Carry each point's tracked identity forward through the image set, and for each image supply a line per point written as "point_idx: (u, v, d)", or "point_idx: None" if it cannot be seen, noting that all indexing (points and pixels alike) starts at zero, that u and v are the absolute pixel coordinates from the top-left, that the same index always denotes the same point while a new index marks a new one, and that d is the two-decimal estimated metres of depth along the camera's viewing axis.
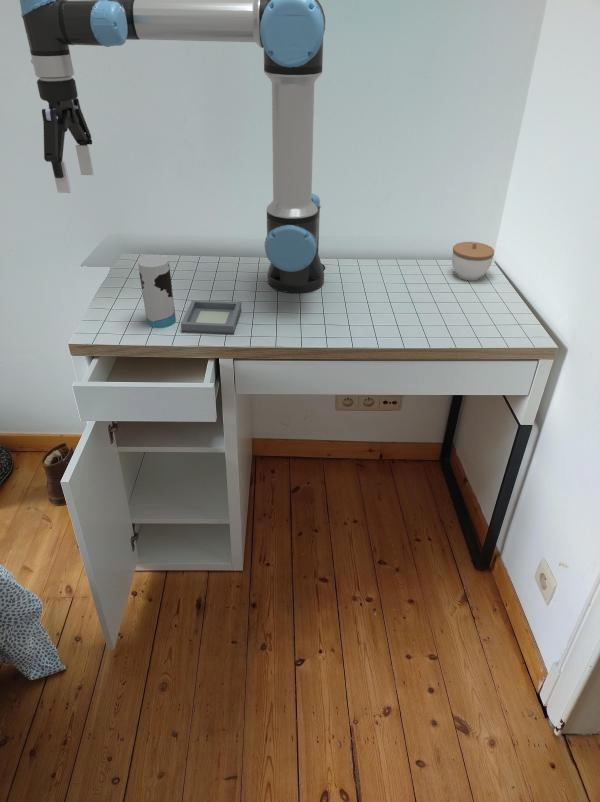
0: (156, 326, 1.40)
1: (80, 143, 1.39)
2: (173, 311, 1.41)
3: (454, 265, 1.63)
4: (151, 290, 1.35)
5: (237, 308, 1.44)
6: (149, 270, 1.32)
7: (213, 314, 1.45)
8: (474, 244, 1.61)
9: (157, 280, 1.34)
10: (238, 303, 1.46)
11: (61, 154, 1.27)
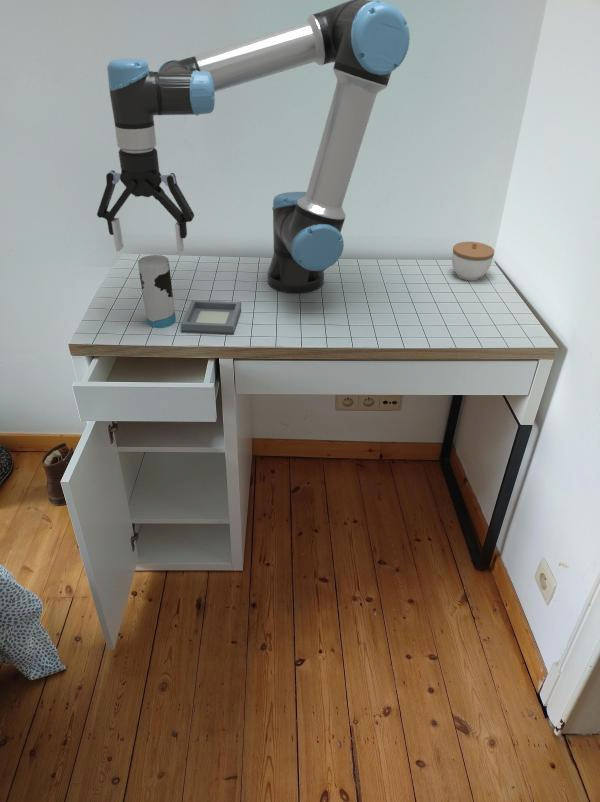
0: (156, 326, 1.40)
1: None
2: (173, 311, 1.41)
3: (454, 265, 1.63)
4: (151, 290, 1.35)
5: (237, 308, 1.44)
6: (149, 270, 1.32)
7: (213, 314, 1.45)
8: (474, 244, 1.61)
9: (157, 280, 1.34)
10: (238, 303, 1.46)
11: (111, 214, 1.28)
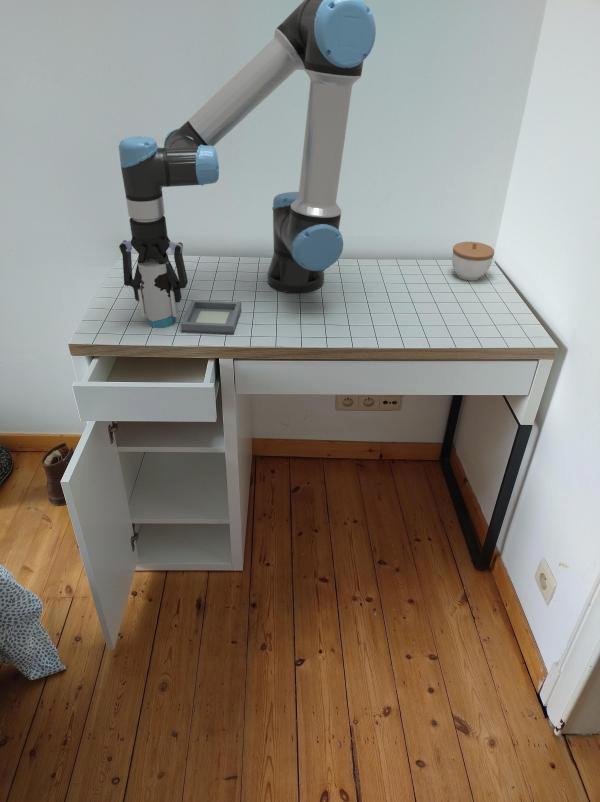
0: (156, 326, 1.40)
1: None
2: None
3: (454, 265, 1.63)
4: (151, 290, 1.35)
5: (237, 308, 1.44)
6: (149, 270, 1.32)
7: (213, 314, 1.45)
8: (474, 244, 1.61)
9: (157, 280, 1.34)
10: (238, 303, 1.46)
11: (136, 282, 1.37)
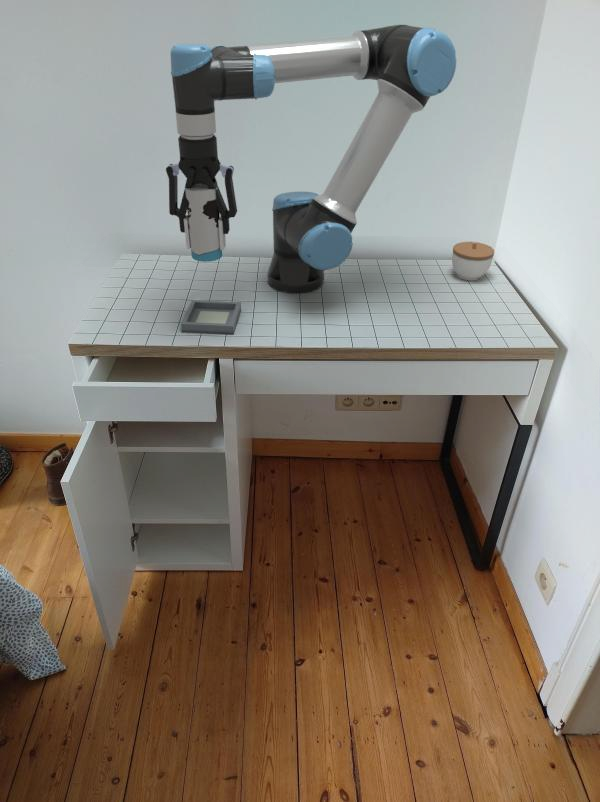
0: (203, 259, 1.31)
1: None
2: None
3: (454, 265, 1.63)
4: (198, 218, 1.26)
5: (237, 308, 1.44)
6: (198, 195, 1.23)
7: (213, 314, 1.45)
8: (474, 244, 1.61)
9: (205, 207, 1.24)
10: (238, 303, 1.46)
11: (182, 211, 1.27)
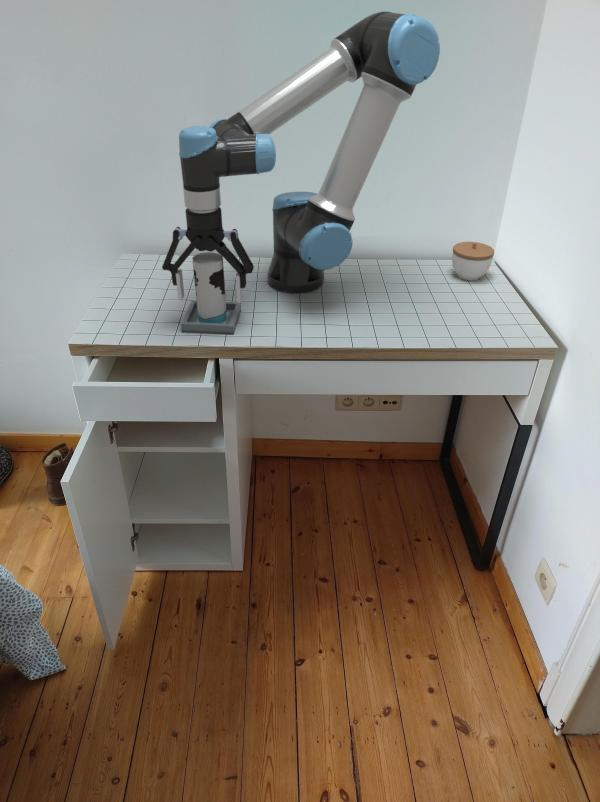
0: None
1: None
2: (225, 308, 1.41)
3: (454, 265, 1.63)
4: (205, 287, 1.35)
5: (237, 308, 1.44)
6: (205, 268, 1.32)
7: None
8: (474, 244, 1.61)
9: (212, 277, 1.34)
10: (238, 303, 1.46)
11: (175, 267, 1.35)
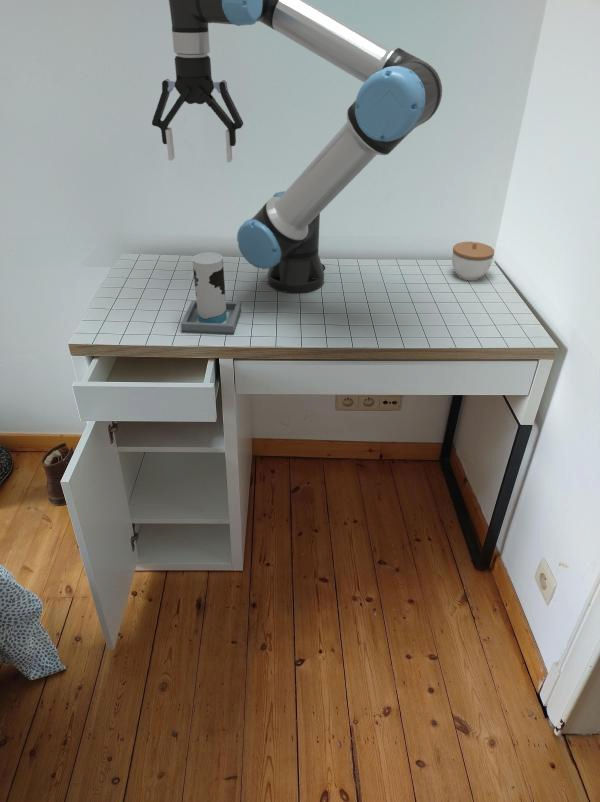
0: None
1: None
2: (225, 308, 1.41)
3: (454, 265, 1.63)
4: (205, 287, 1.35)
5: (237, 308, 1.44)
6: (205, 267, 1.32)
7: None
8: (474, 244, 1.61)
9: (211, 277, 1.34)
10: (238, 303, 1.46)
11: (165, 123, 1.35)
